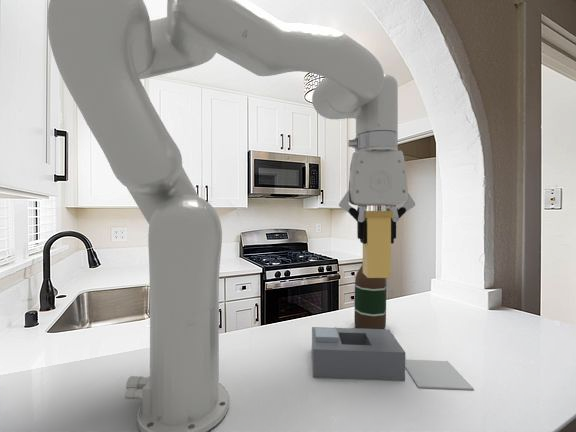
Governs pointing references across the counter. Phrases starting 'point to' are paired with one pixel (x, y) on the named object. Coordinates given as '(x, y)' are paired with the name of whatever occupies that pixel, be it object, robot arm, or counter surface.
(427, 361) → the mat
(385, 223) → the plug
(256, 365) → the counter surface
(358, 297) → the beer bottle
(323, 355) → the grey block with hole
